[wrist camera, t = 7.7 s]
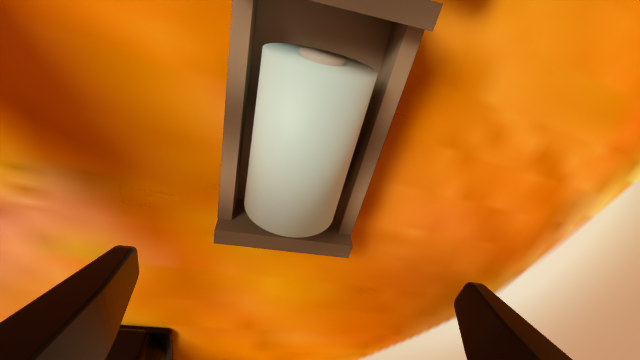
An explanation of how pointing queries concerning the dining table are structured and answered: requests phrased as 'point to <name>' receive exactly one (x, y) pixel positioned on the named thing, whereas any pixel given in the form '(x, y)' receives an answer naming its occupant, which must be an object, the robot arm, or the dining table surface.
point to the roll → (303, 136)
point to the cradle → (331, 35)
